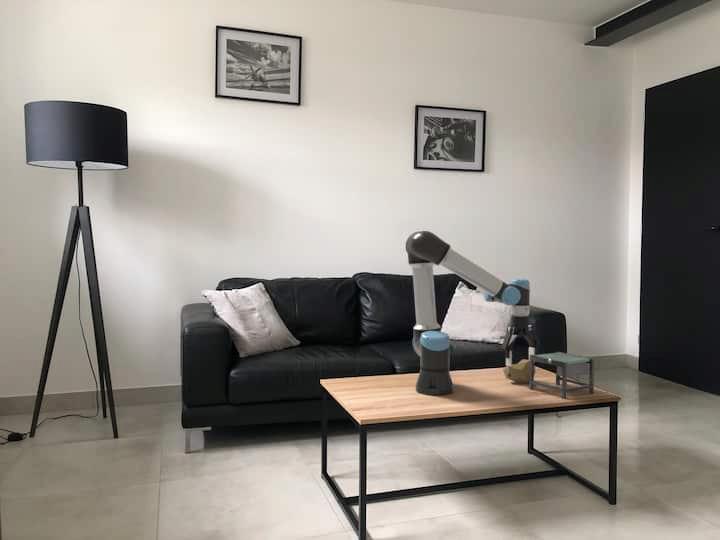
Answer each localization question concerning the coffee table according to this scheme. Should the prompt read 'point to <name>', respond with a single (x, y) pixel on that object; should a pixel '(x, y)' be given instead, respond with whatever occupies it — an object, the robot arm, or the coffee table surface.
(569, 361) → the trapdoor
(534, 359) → the stand
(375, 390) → the coffee table surface
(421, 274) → the robot arm
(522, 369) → the low-poly potato
